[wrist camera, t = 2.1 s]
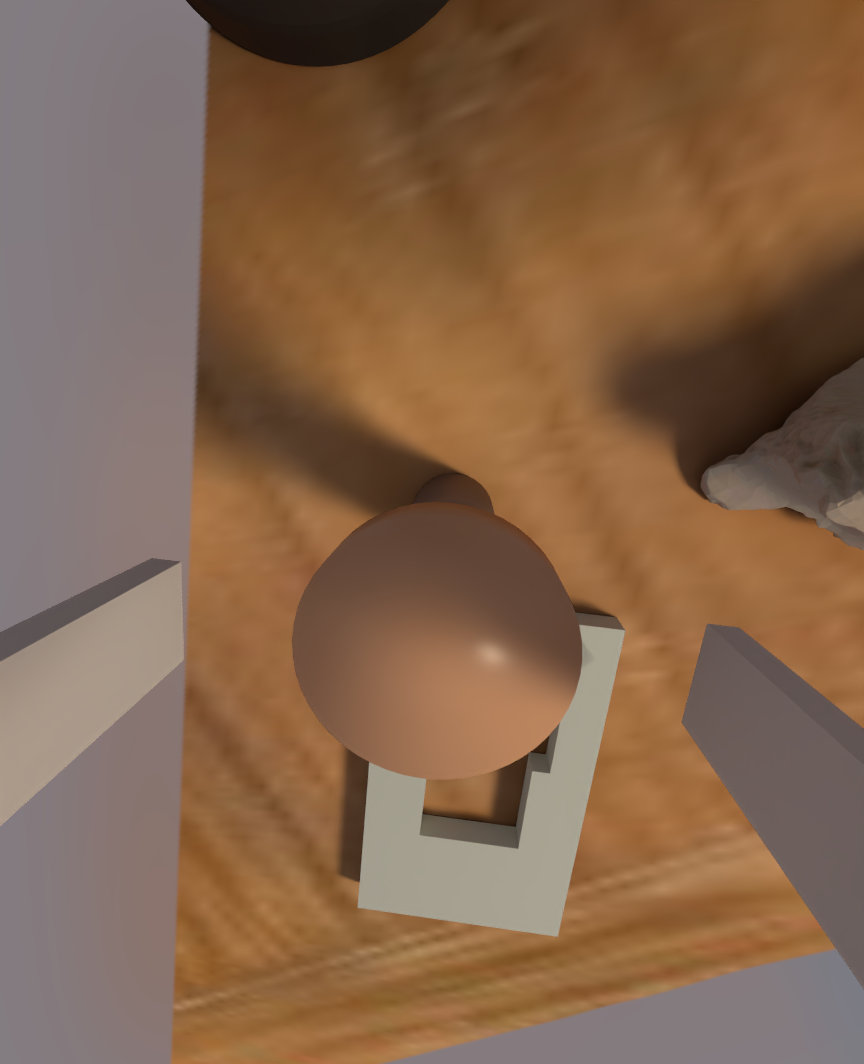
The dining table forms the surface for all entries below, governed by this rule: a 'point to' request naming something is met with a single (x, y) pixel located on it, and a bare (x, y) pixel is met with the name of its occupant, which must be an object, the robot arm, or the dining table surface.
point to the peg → (438, 638)
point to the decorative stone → (805, 462)
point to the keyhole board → (490, 849)
